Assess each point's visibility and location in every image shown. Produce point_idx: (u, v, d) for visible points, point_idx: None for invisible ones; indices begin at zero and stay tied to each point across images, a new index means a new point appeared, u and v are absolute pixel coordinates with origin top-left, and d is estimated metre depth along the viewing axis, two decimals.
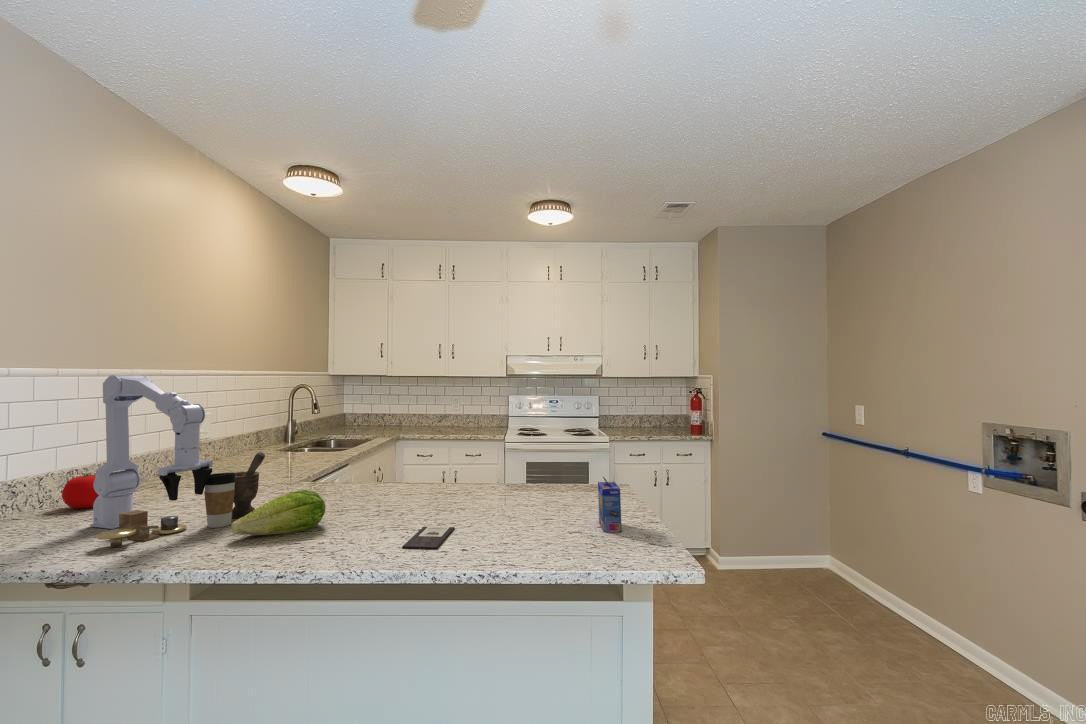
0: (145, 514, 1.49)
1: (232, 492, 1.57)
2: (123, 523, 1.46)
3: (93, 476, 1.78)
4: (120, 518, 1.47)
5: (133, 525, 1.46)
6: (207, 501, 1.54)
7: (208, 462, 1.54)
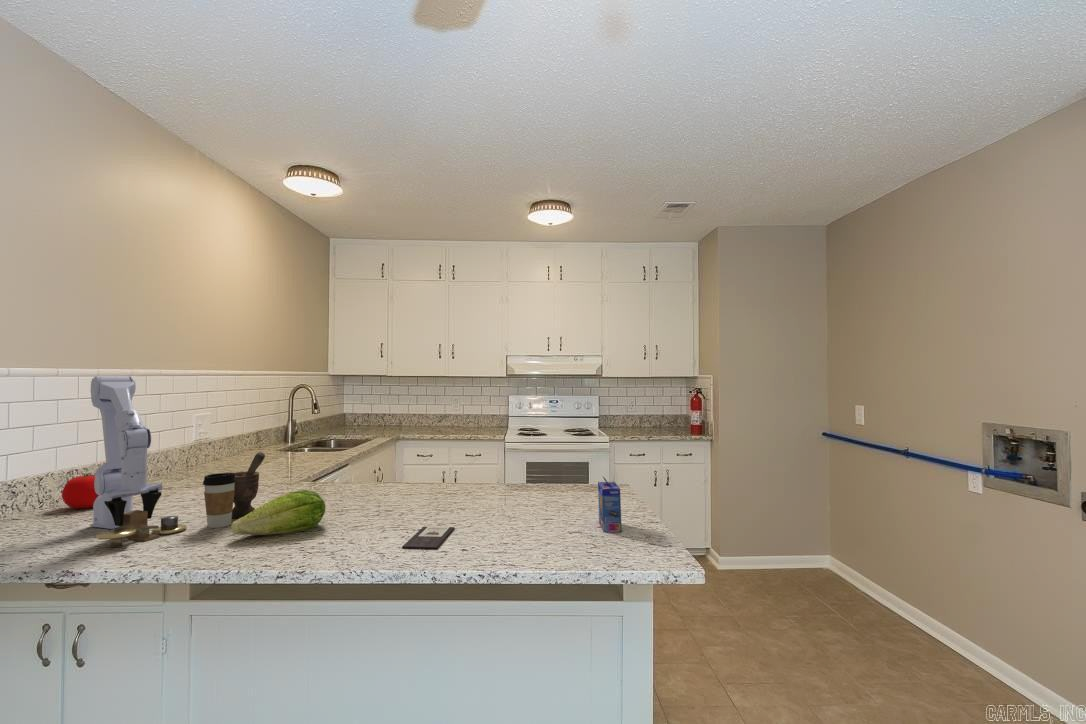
0: (145, 514, 1.49)
1: (232, 492, 1.57)
2: (123, 523, 1.46)
3: (93, 476, 1.78)
4: None
5: (133, 525, 1.46)
6: (207, 501, 1.54)
7: (157, 486, 1.53)
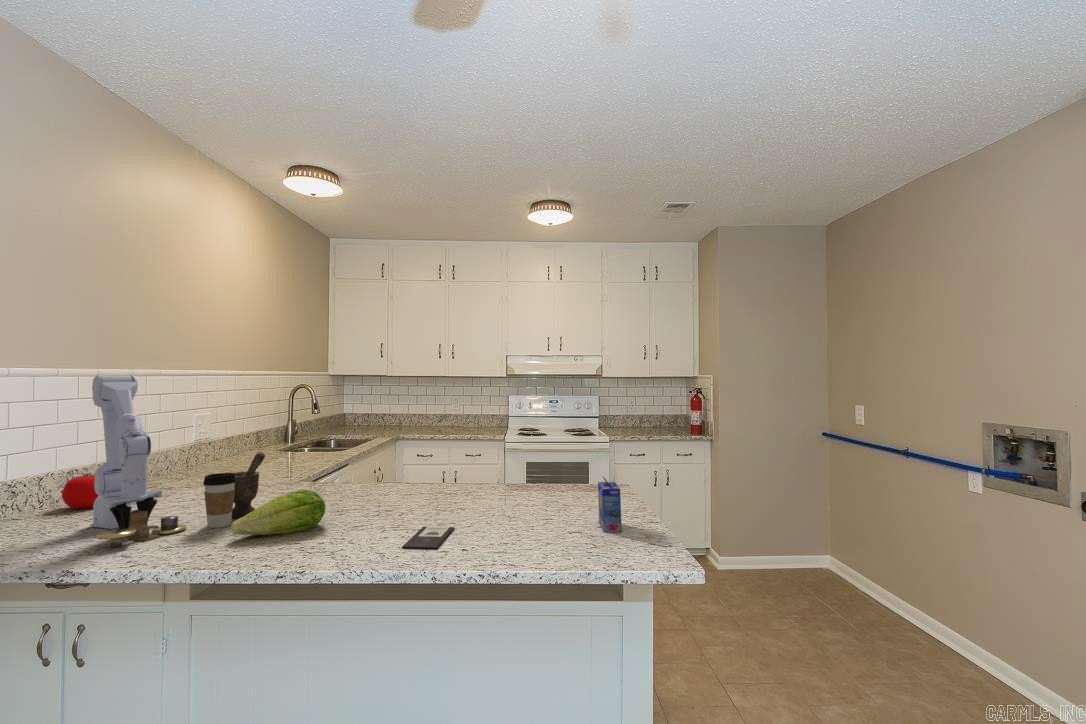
0: (145, 514, 1.49)
1: (232, 492, 1.57)
2: None
3: (93, 476, 1.78)
4: None
5: (133, 525, 1.46)
6: (207, 501, 1.54)
7: (157, 492, 1.53)
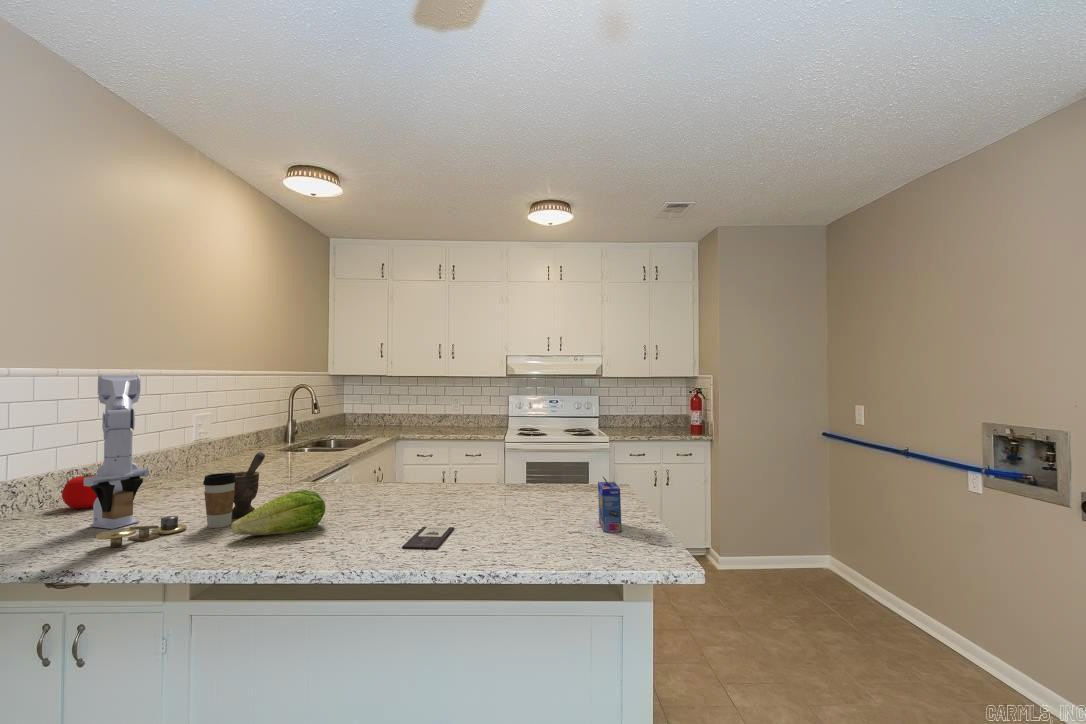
0: (131, 495, 1.39)
1: (232, 492, 1.57)
2: None
3: None
4: None
5: (117, 506, 1.35)
6: (207, 501, 1.54)
7: (143, 471, 1.43)
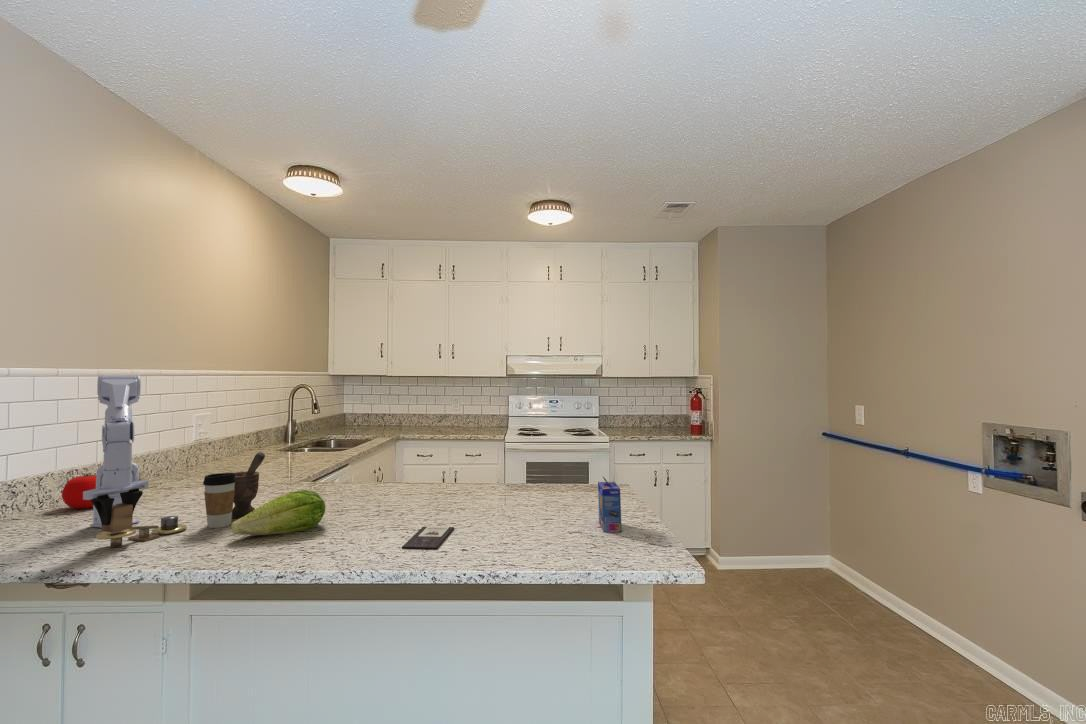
0: (130, 508, 1.38)
1: (232, 492, 1.57)
2: None
3: (93, 476, 1.78)
4: None
5: (116, 520, 1.35)
6: (207, 501, 1.54)
7: (143, 483, 1.43)
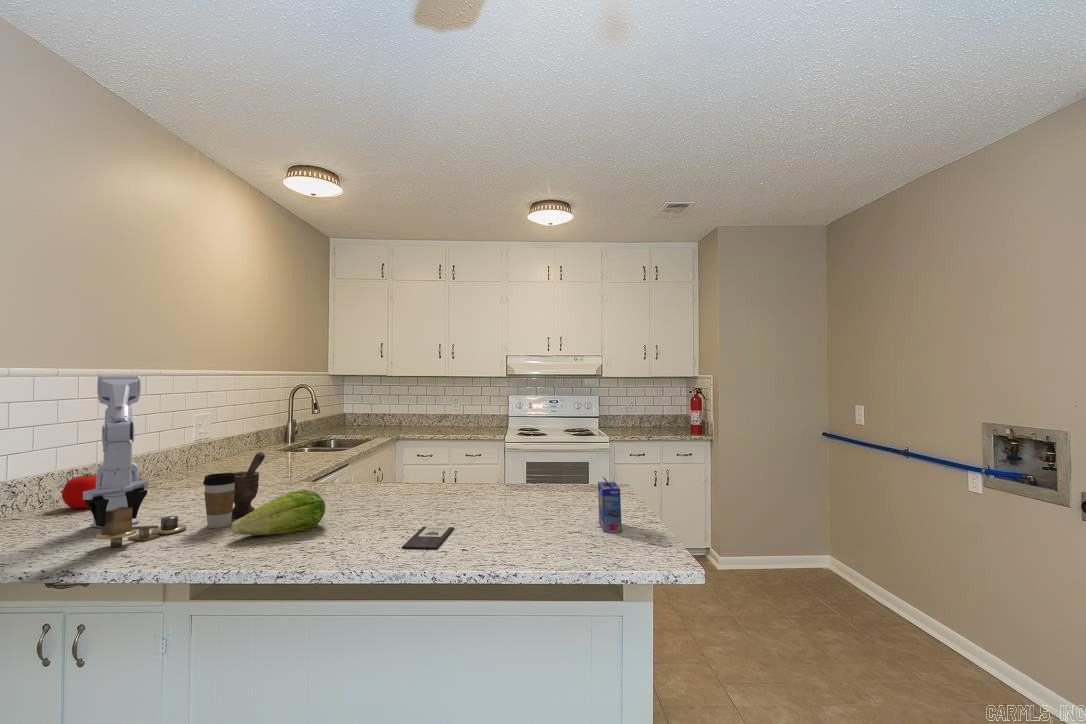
0: (130, 511, 1.39)
1: (232, 492, 1.57)
2: (106, 521, 1.35)
3: (93, 476, 1.78)
4: None
5: (117, 523, 1.35)
6: (207, 501, 1.54)
7: (143, 483, 1.43)
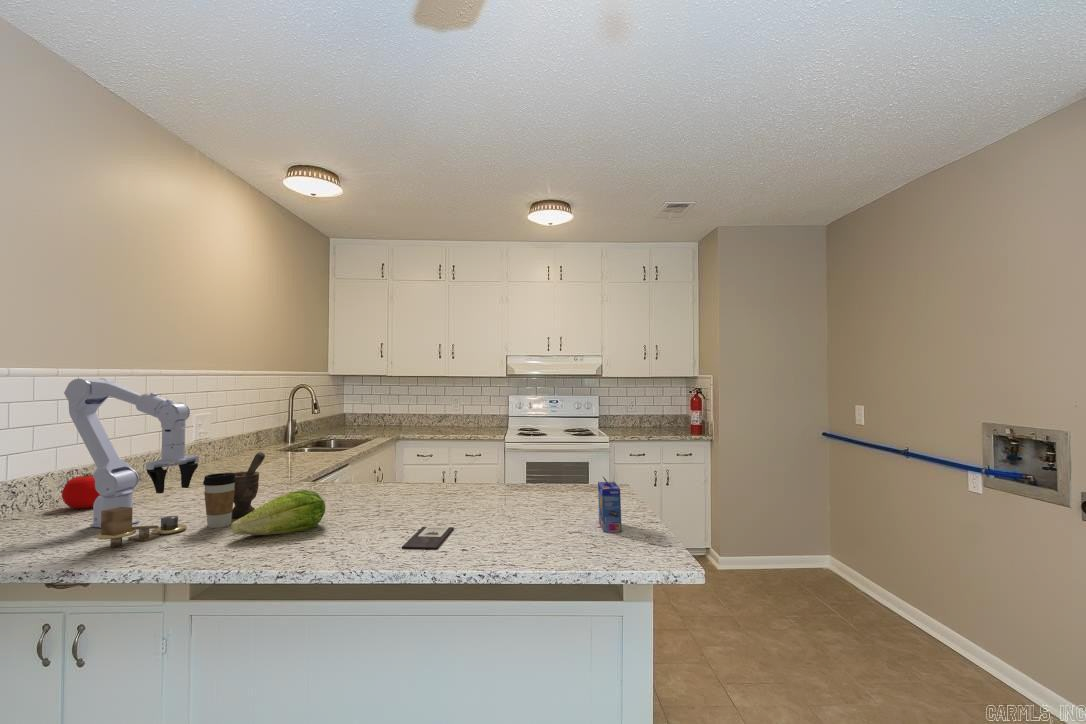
0: (130, 511, 1.39)
1: (232, 492, 1.57)
2: (106, 521, 1.35)
3: None
4: (102, 515, 1.36)
5: (117, 523, 1.35)
6: (207, 501, 1.54)
7: (194, 457, 1.63)
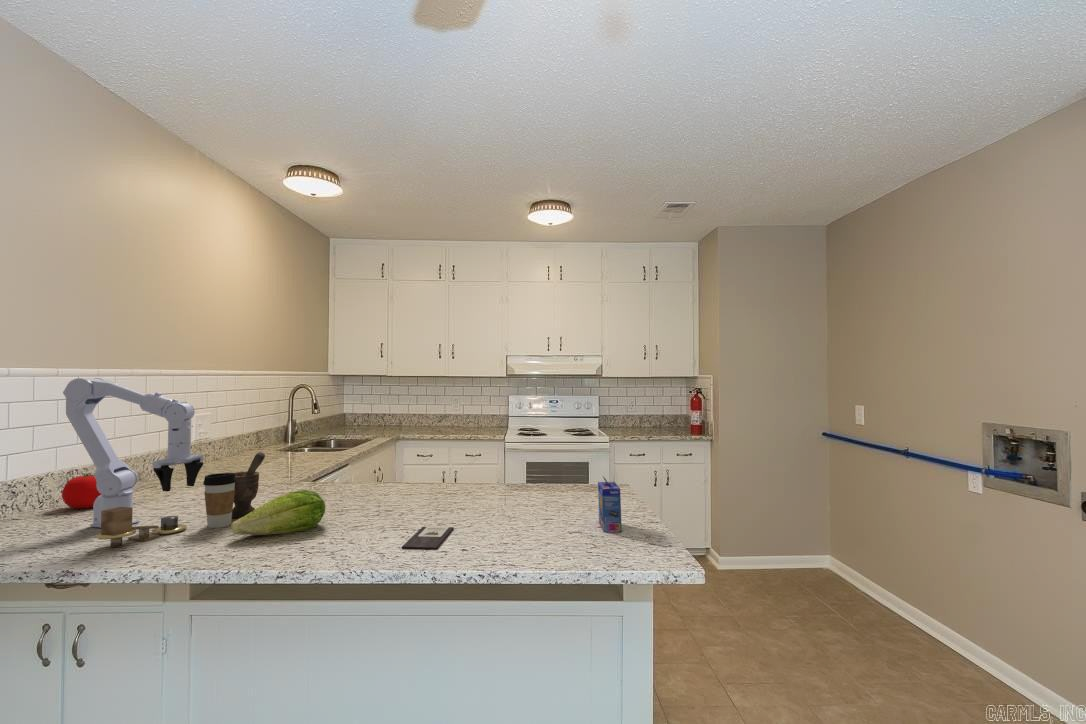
0: (130, 511, 1.39)
1: (232, 492, 1.57)
2: (106, 521, 1.35)
3: (93, 476, 1.78)
4: (102, 515, 1.36)
5: (117, 523, 1.35)
6: (207, 501, 1.54)
7: (199, 456, 1.66)
